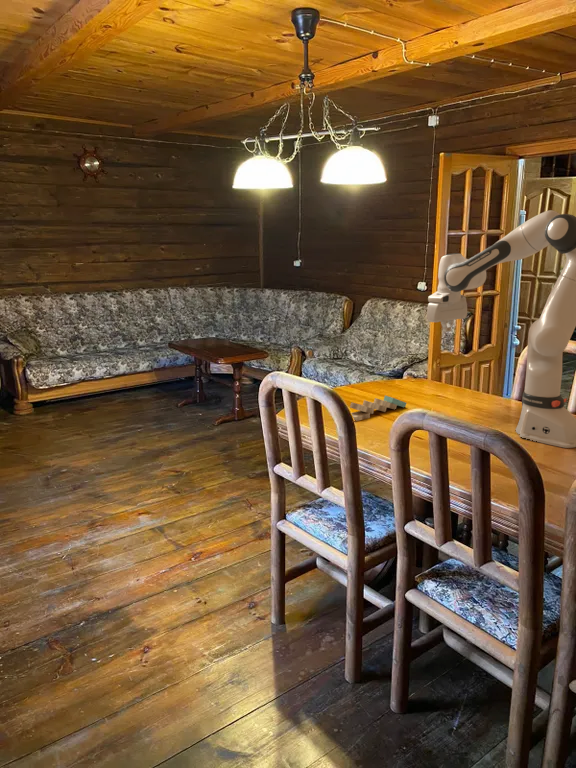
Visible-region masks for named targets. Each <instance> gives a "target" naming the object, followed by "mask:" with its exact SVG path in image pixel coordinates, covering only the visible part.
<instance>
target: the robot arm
mask: <svg viewBox="0 0 576 768" xmlns="http://www.w3.org/2000/svg"><path fill="white" fill-rule="evenodd" d="M548 246H551V247H553V248H554V249H555V250H557V251H558V252H559V253H560V254H561V255H562V254H563V255H565V259H566V260H565V264H564V265H563V268H562V269H561V272H560V274H559V275H558V278H557V280H556V281H555V283H554V286H553V287H552V289H551V290H550V293H549V295H548V296H547V299H546V303H545V305H544V307H543V308H542V309H543V310H542V312H541V315H540V316H539V318H538V319H536V320H534V322H533V323H532V324H531V325H530V327H529V330H528V335H527V336H528V338H527V349H526V351H527V352H526V353H527V354H526V373H525V381H524V390H523V392H522V396H521V397H522V399H521V407H522V408H521V412H520V416H519V419H518V420H519V421H518V423H517V426H516V427H515V430H516V431H515V432H516V434H518V435H519V434H520V435H519V438H520V437H522V438H526V439H525V440H527V439H530V440H529V441H532V440H533V441H532V442H536V441H537V442H536V443H541V444H545V445H550V446H554V447H560V448H565V449H567V448H568V449H569V448H570V449H572V448H576V417H575V416H574V415H573V414H572V413H571V412H570V411H568V409H567V408H566V407H565V403H567V402H568V401H567V399H568V398H563V396H562V394H561V387H562V386H561V385H562V379H563V352H564V351H565V350H566V348H567V346H568V344H569V342H570V340H571V338H572V335H573V334H574V331H575V329H576V216H575V215H574V214H569V213H562V214H561V213H559V212H557V211H556V210H551V209H550V210H545V211H543V212H541V213H539V214H536V215H535V216H533V217H531V218H530V219H528V220H526V221H524V222H523V223H521V224H520V225H519V226H517V227H516V228H514V229H513V230H511V231H510V232H508V234H506V235H504V236H503V237H502V238H500V239H499V240H497V241H496V242H495V243H494V244H492V245H491V246H489V247H487V248H485V249H483V250H482V251H480V252H478V253H477V254H475V255H474V256H471V257H470V258H466V257H464V255H463V254H462V253H459V252H454V253H446V254H445V255H443V256H442V257H441V258H440V259H439V265H438V271H437V272H438V273H437V275H438V276H437V278H438V285H437V291H435V292H434V293H432V294H430V295H429V296H427V297H428V298H427V302H429V303H428V304H427V308H426V309H427V312H426V319H427V321H428V322H430V323H439V322H440V325H441V328H442V332H443V333H448V332H452V326H453V325H454V323H455V321H456V320H462V319H466V318H467V316H468V303H467V297H466V296H465V295H464V294H462V291H466V290H473V289H477V288H478V289H479V288H480V287H482V286H483V285H485V282H487V281H486V280H487V277H488V275H487V270H488V269H491V268H492V267H494V266H496V265H499V264H503V263H507V262H513V261H519V260H524V259H526V258H528V257H531V256H533V255H535V254H537V253H538V252H540V251H542V250H544V249H545V248H546V247H548ZM522 438H521V439H522Z"/></svg>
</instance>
